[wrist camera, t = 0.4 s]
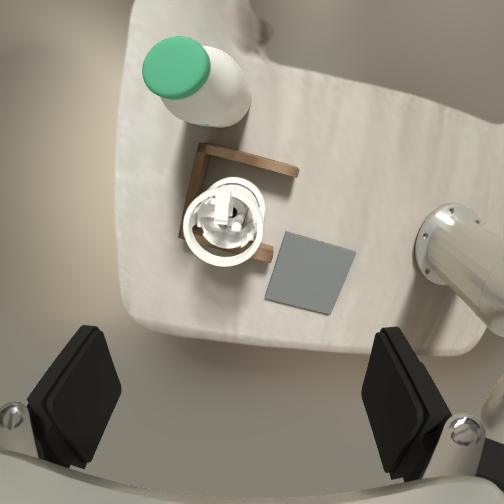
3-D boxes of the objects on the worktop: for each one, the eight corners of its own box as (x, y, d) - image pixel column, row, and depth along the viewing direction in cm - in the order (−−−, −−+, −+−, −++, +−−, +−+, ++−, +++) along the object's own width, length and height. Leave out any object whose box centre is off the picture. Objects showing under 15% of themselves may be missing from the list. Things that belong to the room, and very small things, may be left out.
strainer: (269, 174, 39) (266, 195, 25) (263, 227, 42) (258, 276, 28) (213, 169, 39) (180, 188, 25) (210, 222, 42) (179, 266, 28)
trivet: (354, 251, 42) (355, 253, 41) (329, 312, 45) (330, 314, 45) (285, 231, 42) (285, 232, 41) (264, 296, 45) (264, 298, 45)
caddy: (297, 167, 39) (299, 169, 35) (271, 253, 43) (270, 263, 40) (205, 142, 38) (198, 143, 35) (185, 229, 42) (178, 237, 39)
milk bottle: (237, 61, 34) (204, -3, 15) (261, 113, 36) (250, 89, 18) (181, 86, 36) (106, 51, 17) (205, 138, 38) (144, 140, 19)
